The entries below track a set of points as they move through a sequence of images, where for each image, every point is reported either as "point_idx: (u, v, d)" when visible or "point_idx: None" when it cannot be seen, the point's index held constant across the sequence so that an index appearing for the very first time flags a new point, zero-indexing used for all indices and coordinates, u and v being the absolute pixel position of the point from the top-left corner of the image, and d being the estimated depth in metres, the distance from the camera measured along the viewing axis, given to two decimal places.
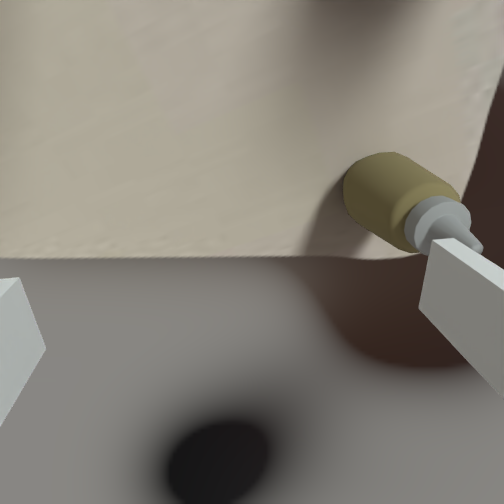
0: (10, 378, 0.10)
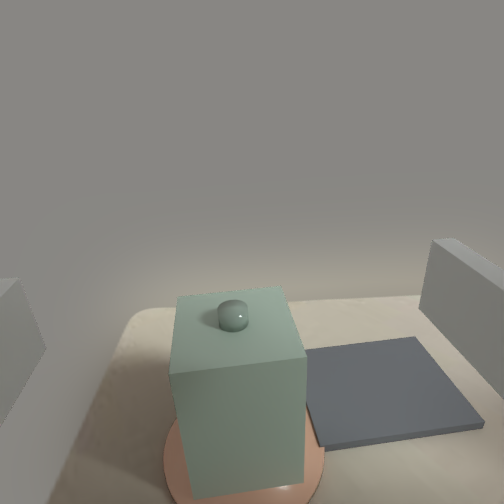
0: (10, 378, 0.10)
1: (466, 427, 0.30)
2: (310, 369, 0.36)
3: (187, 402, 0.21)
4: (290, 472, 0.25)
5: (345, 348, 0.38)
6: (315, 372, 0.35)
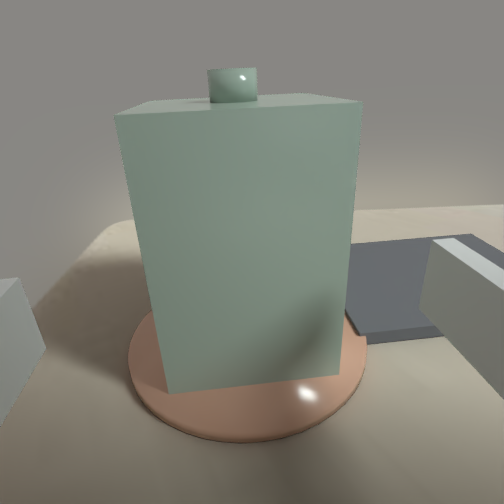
0: (10, 378, 0.10)
1: None
2: None
3: (151, 188, 0.12)
4: (320, 353, 0.16)
5: (381, 244, 0.29)
6: None
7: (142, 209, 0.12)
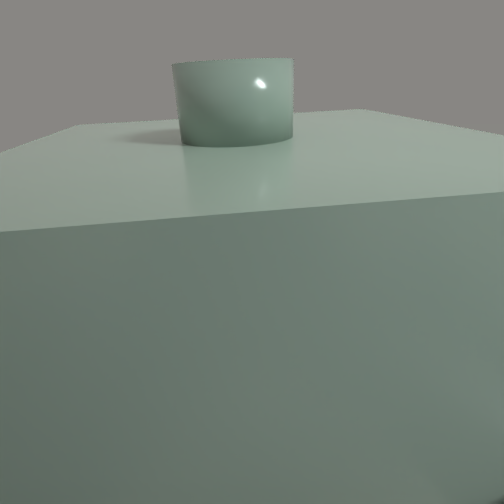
0: None
1: None
2: None
3: None
4: None
5: None
6: None
7: None
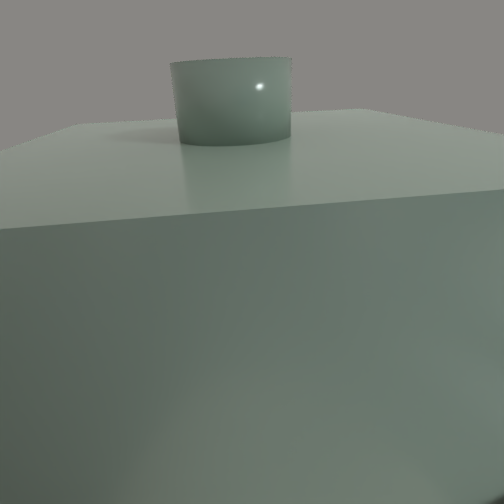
0: None
1: None
2: None
3: None
4: None
5: None
6: None
7: None
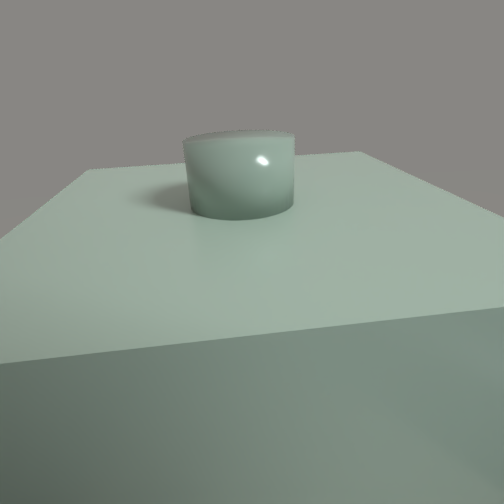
0: None
1: None
2: None
3: None
4: None
5: None
6: None
7: None
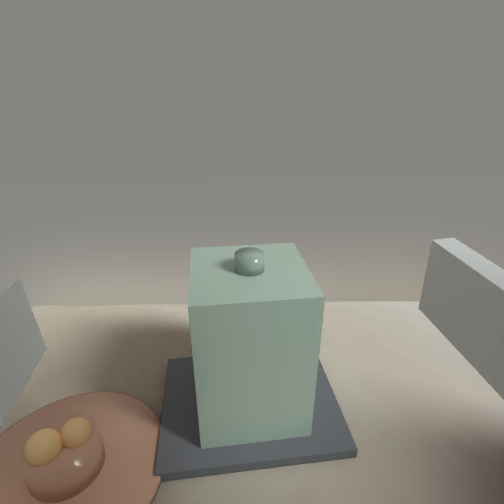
0: (10, 378, 0.10)
1: (335, 455, 0.25)
2: (182, 380, 0.31)
3: (204, 339, 0.21)
4: (298, 423, 0.26)
5: None
6: (186, 384, 0.31)
7: (197, 349, 0.22)
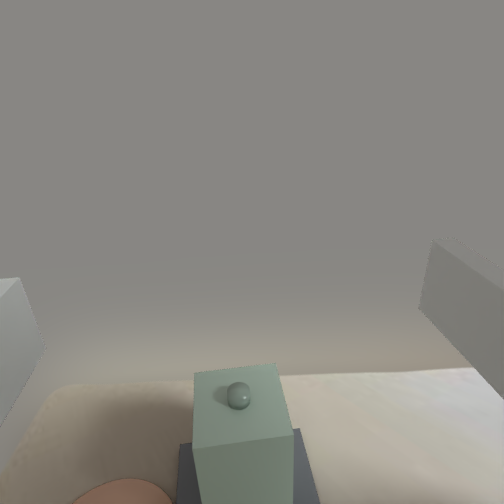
0: (10, 378, 0.10)
1: None
2: (191, 466, 0.39)
3: (205, 467, 0.29)
4: None
5: None
6: (195, 470, 0.38)
7: (200, 473, 0.29)
